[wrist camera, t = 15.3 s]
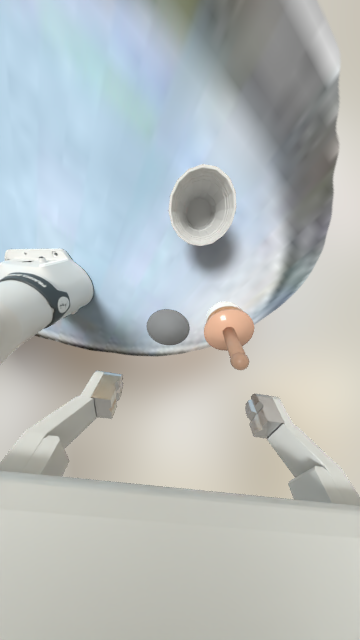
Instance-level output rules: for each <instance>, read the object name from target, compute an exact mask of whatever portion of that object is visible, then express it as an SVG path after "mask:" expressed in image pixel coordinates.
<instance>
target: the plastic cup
mask: <svg viewBox="0 0 360 640" xmlns="http://www.w3.org/2000/svg"><path fill="white" fill-rule="evenodd" d="M235 211H236V192H235V189H234V187H233V185H232V182H231V180H230V178H229V176H228V175H226V174H225V173H224V172H223V171H222V170H221V169H219V168H218V167H216V166H210V165H205V164H202V165H199V166H196V167H193V168H190V169H188V170H187V171H186V172H185V173H184V174H183V175H182V176H181V177H180V178H179V179H178V180H177V182H176V184H175V186H174V188H173V190H172V193H171V195H170V203H169V215H170V219H171V224H172V227H173V228H174V230H175V231H176V233H177V234H178V236H179V237H180V238H181V239H183V240H184V241H186V242H187V243H188V244H192V245H197V246H203V245H207V244H212V243H214V242H215V241H216V240H218V239H219V238H221V237H222V236H223V235H224V234H225V233H226V231H227V230H228V228H229V227H230V225H231V224H232V221H233V218H234V214H235Z"/></svg>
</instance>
